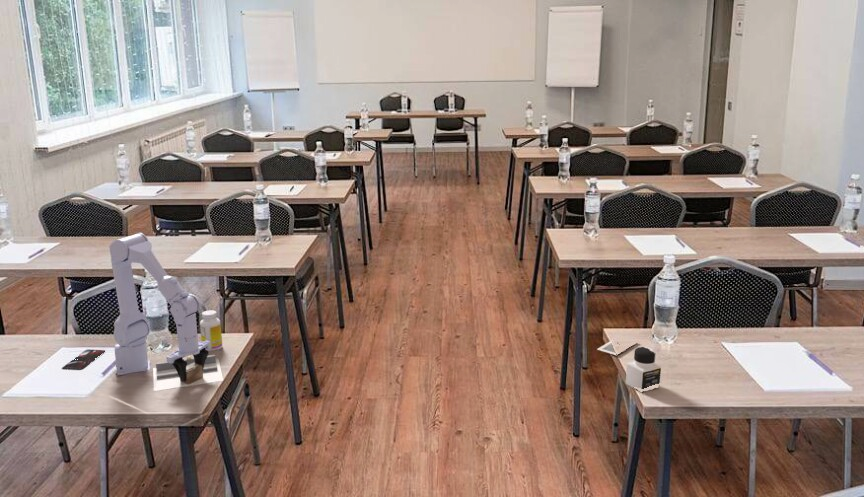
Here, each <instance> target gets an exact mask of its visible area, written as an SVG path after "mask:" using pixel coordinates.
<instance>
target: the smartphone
mask: <svg viewBox="0 0 864 497" xmlns="http://www.w3.org/2000/svg"><path fill="white" fill-rule="evenodd" d="M105 351H106V350H105V349H85V350H84V351H82V352H81V353H80V354H79V356H78V355H77V356H78V357H77V356H75V357H74V358H75V359H76V360H75V359H74V358H73V359H74V360H73V359H72V360H70V361H69V362H67V363H66V364H65V365H63V366H62V367H61V370H67V369H68V370H69V371H70V370H72V371H82V370H84V369H85V368H87V367H88V366H89V365H90V363H91V362H92V363H93V362H94V361H96V360H95V358H97V357H98V356H100V355H101V354H102V353H103V354H105V353H106V352H105ZM104 352H105V353H104ZM103 354H102V355H103ZM102 355H101V356H102ZM101 356H100V357H101ZM98 358H99V357H98ZM98 358H97V359H98ZM77 359H78V360H77ZM92 363H91V364H92ZM68 370H67V371H68Z"/></svg>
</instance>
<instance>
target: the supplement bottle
mask: <svg viewBox="0 0 864 497" xmlns="http://www.w3.org/2000/svg"><path fill="white" fill-rule="evenodd" d="M217 313H218V312H217V311H216V310H210V309H209V310H205V311H202V313H201V317H202V319H201V320H200V322H199V329H200V340H201V341H200V342H203V341H209V342H210V346H211V347H210V348H205V349H206V350H207V351H208V352H209V351H217V350H221V349H222V348H223V336H222V325H221V324H222V323H221V320H220V318H218V317H217V315H218V314H217Z"/></svg>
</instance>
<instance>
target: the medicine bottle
mask: <svg viewBox="0 0 864 497" xmlns="http://www.w3.org/2000/svg"><path fill="white" fill-rule="evenodd" d="M633 355H634V356H633V361H628V362H627V363H626V374H625V376H626V377H625V384H626V386H628V387H630V388H632V389H634V388H633V386H634V387H637V388H641V389H644V388H647V387H649V386H652V385H655V384H659V383H661V371H662V366H661V365H659V364H656V351H655V349H653V348H651V347H647V346H640V347H637V348H635V350H634V354H633Z"/></svg>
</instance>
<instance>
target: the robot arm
mask: <svg viewBox="0 0 864 497" xmlns="http://www.w3.org/2000/svg"><path fill="white" fill-rule="evenodd" d="M108 248H109V253H110V263H111V268H112V273H113V274H112V275H113V279H114V286H115V291H116V297H117V303H118V309H119V316H117V318H116V320H115V321H114V323H113V326H114V330H113V338H114V340H115V342H116V343H115V344H114V356H115V368H116V373H117V376H123V375H128V374H132V373H137V372H145V371H150V369H151V367H150V364H151V360H150V359H148V351H147V340H148V336H149V335H150V333H151V327H150V324H149V322H148V319H147V315H146V314H144V313H142V312H141V311H140V310H139V305H138V299H137V292H136V291H137V290H136V286H135V278H134V274H133V268H132V264H133V263H134V264H135V263H137V264H141V266H142V267H143V268H144V269H145V270H146V271H147V272H148V273H149V275H150V276H151V277H153V279H154V280H155V281H156V282H157V287H156V288H157V290H158V291H159V292H160V294H161V295H162V296H163V297H164V299H165V300H166V301H167V302H168V304H169V305H170V308H169V311H170V314H171V315H172V318H173V320H174V321H173V322H174V323H175V324H176V327H175V328H176V334H177V343H178V345H177V346H178V349H176V350H175V351H173V352H172V353H171V354H167V355H166V357H165V358H166V361H167V362H168V363H171V364H172V365H173V366H174V367H175V369H176V371H177V373H178V375H179V378H180V380H182V381H186V366H187V362H186V361H184V359H185V358H187V357H188V356H191V355H192V356H193V358H194V360H195V363H197V364H199V365H202V371H203V368H204V364H205V360H206V358H207V356H208V355H209V351H208V350H206V349H205V348H210V347H211V346H210V342H209V341H203V342H202V341H200V342H199V338H198V328H197V327H198V326H197V315H196V312H198V311H199V309H200V302H199V300H198V299H197V297H196V295H194V294H191V293H189V292H188V291H185V289H184V288H183V286H182V285H181V284H180V283H179V282H178V280H177V279H176V278H175V277H174V276H171V275H168V274H167V272H166V271H165V269H164V268H163V266H162V265H161V262H159V260H158V259H157V257H156V255H154V252H153V251H152V248H153V247H152V242H150V241H149V239H148V237H147V235H145V234H144V233H143V232H137V233H135V234H132V235H129V236H126V237H125V236H124V237H121V238H118V239H114V240H113V241H112V242H111V243H110V244H109V246H108Z"/></svg>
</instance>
